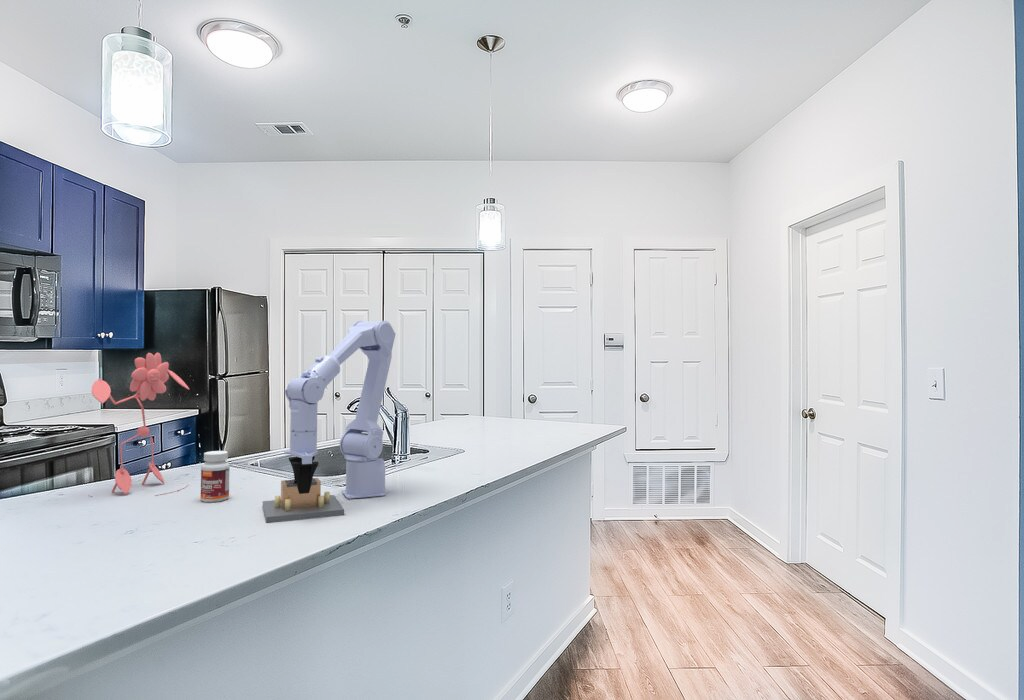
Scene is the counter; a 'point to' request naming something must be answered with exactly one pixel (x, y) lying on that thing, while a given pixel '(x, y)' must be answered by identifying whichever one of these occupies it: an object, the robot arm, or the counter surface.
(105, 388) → the figurine
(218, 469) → the pill bottle
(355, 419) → the robot arm
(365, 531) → the counter surface
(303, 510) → the grey peg board
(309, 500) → the tan wooden block
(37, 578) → the counter surface
